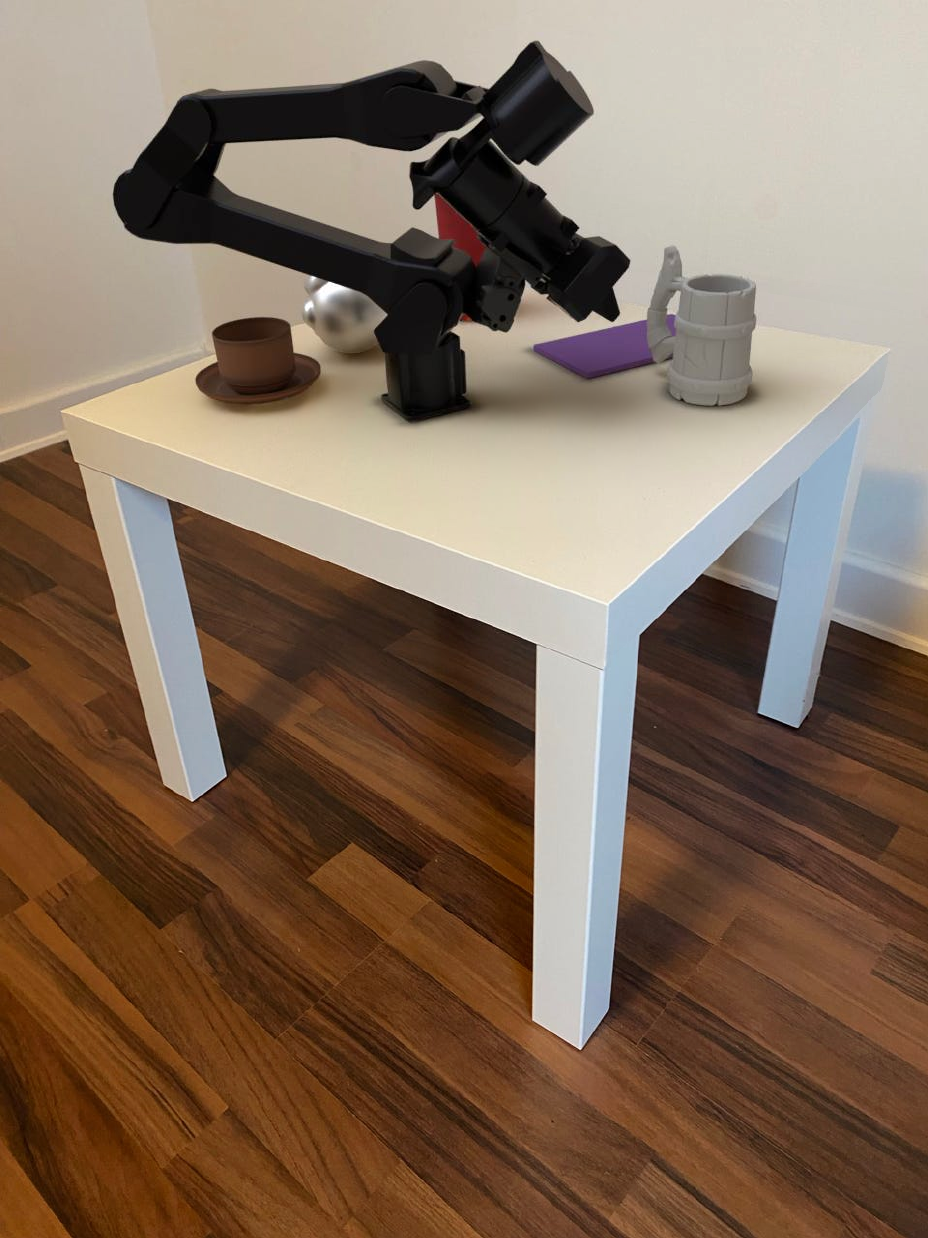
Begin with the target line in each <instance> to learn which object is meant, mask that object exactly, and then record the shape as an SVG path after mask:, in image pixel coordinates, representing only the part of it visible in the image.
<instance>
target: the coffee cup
mask: <svg viewBox="0 0 928 1238" xmlns="http://www.w3.org/2000/svg"><path fill="white" fill-rule="evenodd" d="M433 197H434V206H435V207H434V208H435V214H436V215H435V216H436V224H437V233H438V235H437V236H438V238H439V239H444V240H447V239H455V240H456V243H455V244H454V245H453V246H452V247H454V248H458V249H460V250H462V251H464V252H466V253H467V254H468V255H469V256H470V257H472V259H473V262H474V264H475V266H476V267H477V265H478V263H479V261H480V260H481V258H482V255H483V253H484V251H485V249H486V247H485V246H484V245H483V244H482V243H481V242H480V241H479V240H478V239H477V238H476V237H477V236H478V234H477V233H476V232H475V231H476V230H475V229H474V228H473V227H472V226H471V225H470V224H469V223H468V222H467V221H466V220H465V219H464V218H462V217H461V216H460V215H459V214H458V213H457V212H456V211H455V210H454V209H453V208H452V207H451V206H450V205H449V204H448V203H447V202H446V201H445V200H444V199H442V198H441V197H440V196H439V195H438V194H437V193H436V194H435V195H434V196H433ZM459 321H463V322H473V321H472V320H471V319H470V318H469V317H468V316H467V315H466V314H465V313H464V314H463V316H462V317H461V318H460V320H459Z"/></svg>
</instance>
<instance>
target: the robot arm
mask: <svg viewBox="0 0 928 1238" xmlns="http://www.w3.org/2000/svg"><path fill="white" fill-rule="evenodd" d="M594 113H595V110H594V107H593V103H592V102H591V99H590V98H589V96H588V94H587V92H586V91H585V89H584V88H583V86H582V84H581V83H580V81H579V80H578V79H577V77H576V76H575V75H574V73H573V72H572V71H571V70H568V71H567V69H566V68H565V66H563V64H561V62H559V60H558V59H557V58H556V57H554V55H552V54H551V53H549V52H548V51H547V50H546V49H545V48H544V46H543V45H542V43H541V42H540V41H539V40H533V41H531V42H529V43H528V44H527V45H526V46H525V47H524V48H523V49H522V50H521V51H520V53H518V55H517V57H516V58H515V60H514V62H513V63H512V64H511V66H510V67H509V68H508V69H506V71H505V72H504V73H503V74H502V75H501V76H500V77H499V78H498V79H497V80H496V81H495V82H494V83H493V84H492V85H491V86H490V87H489V88H487V87H485V86H481V85H476V84H471V83H467V82H463V81H460V80H459V81H458V80H455V79H454V77H453V76H452V75H451V74H450V73H449V71H448V70H447V69H446V68H445V67H443V65H442V64H440V63H439V62H436V61H433V60H427V59H423V60H418V61H414V62H410V63H407V64H403V65H400V66H397V67H393V68H390V69H386V70H383V71H380V72H376V73H373V74H370V75H366V76H363V77H359V78H355V79H352V80H349V81H346V82H338V83H337V82H336V83H321V84H306V85H293V86H277V87H265V88H264V87H263V88H262V87H261V88H247V89H235V90H221V89H220V90H219V89H216V88H206V89H202V90H199V91H196V92H191V93H188V94H184V95H182V96H181V97H180V98H179V99H178V100H177V101H176V103H175V105H174V106H173V109H172V110H171V112H170V114H169V116H168V118H167V119H166V121H165V123H164V124H163V125H162V126H161V128H160V129H159V131H157V133H156V134H155V135H154V137H153V138H152V139H151V140H150V142H149V143H148V144H147V146H146V147H145V148H144V149H143V151H141V153H140V154H139V156H138V157H137V158H136V161H135V162H134V164H133V166H132V168H129V169H126V170H124V172H122V173H121V174H119V175H118V177H117V179H116V181H115V182H114V184H113V192H112V200H113V206H114V209H115V212H116V214H117V216H118V218H119V219H120V221H121V222H122V224H123V227H124V229H125V230H126V231H127V232H128V233H129V234H131V235H133V236H134V237H136V238H138V239H141V240H145V241H153V242H159V243H167V244H173V245H200V244H201V245H203V244H204V245H205V244H206V245H209V244H210V245H218V246H221V247H224V248H227V249H230V250H233V251H236V252H239V253H242V254H245V255H248V256H251V257H253V258H257V259H260V260H263V261H266V262H268V263H272V264H273V265H274V264H275V265H278V266H280V267H284V268H287V269H289V270H292V271H296V272H298V273H301V274H304V275H307V276H309V275H310V276H313V277H316V278H319V279H322V280H325V281H328V282H331V283H334V284H337V285H340V286H343V287H346V288H349V289H352V290H355V291H358V292H361V293H363V294H365V295H366V296H368V297H369V298H370V299H371V300H372V301H373V302H374V303H375V304H376V305H378V306H379V307H380V308H381V309H382V310H383V311H384V312H385V313H386V314H387V316H386V317H385V318H384V319H383V320H382V322H381V323H380V324H379V325H378V326H377V327H376V328H375V329H374V334H375V336H376V338H377V341H378V345H379V347H380V350H381V352H382V353H383V355H384V366H385V367H384V369H385V378H386V379H385V380H386V389H387V392H385V393H382V394H381V395H380V400H381V401H382V402H383V403H384V404H385V405H387V407H389V408H391V409H392V410H393V411H394V412H396V413H397V414H398V415H400V416H401V417H402V418H404V419H405V420H406V421H408V422H414V421H418V420H422V419H423V420H424V419H426V418H430V417H435V416H439V415H444V414H446V413H447V414H448V413H451V412H454V411H459V410H462V409H467V408H470V407H471V406H472V401H471V399H469V398H468V397H466V396H464V395H466V394H467V390H468V389H467V388H468V386H467V366H466V365H467V364H466V362H467V361H466V351H464V349H462V348H461V336H460V335H458V334H457V333H455V332H453V331H452V330H453V329H454V328H455V327H457V326H458V325H459V323H460V321H461V320H460V318H461V317H462V316H463V314H464V313H465V314H466V315H467V316H468V317H469V318H470V319H471V320H472V321H471V322H473V323H476V324H478V325H480V326H481V325H482V326H484V327H488V328H489V329H490V330H491V331H492V332H497V331H499V332H502V333H508V332H509V331H510V330H511V329H512V327H513V325H514V322H515V318H516V314H517V313H518V310H519V307H520V305H521V302H522V297H523V294H524V291H525V289H526V282H527V283H528V284H529V285H530V288H531V289H532V290H534V291H535V292H536V293H538V294H539V295H542V296H543V295H544V296H545V295H547V297H546V300H547V301H549V302H550V303H551V304H553V305H554V306H556V307H557V308H559V309H560V310H561V311H562V312H564V314H566V315H567V316H568V317H570V318H571V319H573V320H574V321H575V322H577V323H580V322H583V321H585V320H587V318H588V317H589V316H590V315H591V313H592V312H593V313H595V314H597V315H599V316H600V317H602V318H604V319H605V320H607V321H608V322H610V323H614V322H615V321H616V320H617V319H618V318H619V317H620V315H621V311H620V307H619V304H618V300H617V297H616V293H615V290H614V286H615V285H616V284H617V283H618V281H620V279H621V278H622V277H623V275H624V274H625V273H626V272H627V271H628V269H630V265H631V259H630V258H629V257H628V256H627V255H626V254H625V253H624V252H623V250H622V249H621V248H620V247H619V246H618V245H617V244H615V243H613V242H612V241H609V240H608V239H605V238H604V237H602V236H599V235H596V236H589V237H584V236H582V235H580V234H578V233H577V232H578V231H579V230H580V226H579V225H578V224H577V223H576V222H575V221H574V220H573V219H571V218H570V217H567V216H566V215H564V214H563V213H561V212H560V211H559V210H558V209H557V208H556V207H555V206H554V205H553V204H552V203H551V202H550V200H549V199H547V198H546V197H547V195H548V193H547V192H546V190H544V189H543V187H541V185H538V184H537V183H534V182H532V181H531V180H529V179H528V178H527V177H526V176H525V174H524V173H522V172H521V171H520V170H519V169H518V167H517V166H521V165H522V164H523V163H524V162H525V161H526V162H527V163H529V164H530V165H532V166H535V167H539V166H540V165H541V164H542V163H543V162H544V161H546V159H548V158H549V157H550V156H551V155H552V154H553V153H554V152H555V151H556V150H557V149H558V148H559V147H560V146H561V145H562V144H564V142H566V141H567V140H568V139H569V138H570V137H571V136H572V135H573V134H574V133H575V132H576V131H577V130H579V129H580V127H581V126H582V125H584V124H585V123H586V122H587V121H588V120H589V119H590V118H591V117H592V116H594ZM481 117H482V119H481V120H480V121H479V122H478V123H477V124H476V125H474V126H473V128H472V129H471V130H469V131H468V132H466V133H465V134H464V135H462V136H461V137H459V138H458V137H455V136H452V137H449V138H448V139H447V141H446V142H445V143H444V144H442V145H441V146H440V147H439V148H438V149H437V151H436V152H435V153H434V154H433V155H432V156H430V158H428V159H426V160H423V161H411V162H410V164H409V172H408V173H409V174H408V177H409V180H410V183H411V188H412V204H411V205H412V208H413V209H414V210H415V211H416V210H417V211H418V210H421V209H422V208H423V207H424V206H425V205H426V204H427V203H428V202H430V200H431V199H433V197H434V195H435V194H436V193H437V194H438V195H439V196H440V197H441V198H442V199H444V200H445V201H446V202H447V203H448V204H449V205H450V206H451V207H452V208H453V209H454V210H455V211H456V212H457V213H458V214H459V215H460V216H461V217H462V218H464V219H465V220H466V221H467V222H468V223H469V224H470V225H471V226H472V227H473V228H474V229H475V230H476V231H475V232H476V233H477V234H478V236H477V237H476V238H477V239H478V240H479V241H480V242H481V243H482V244H483V245H484V246H485V247H486V249H485V251H484V253H483V255H482V258H481V260H480V261H479V263H478V265H477V267H476V266H475V264H474V262H473V259H472V257H470V256H469V255H468V254H467V253H466V252H464V251H462V250H460V249H458V248H454V247H452V246H453V245H454V244H455V243H456V240H455V239H447V240H444V239H439V237H436V236H433V235H431V234H429V233H428V232H426V231H424V230H422V229H419V228H416V227H412V226H411V227H410V228H409V229H408V230H406V231H405V232H404V233H403V234H401V235H400V236H399V237H398V238H395V240H394V241H392V242H384V241H383V242H382V241H378V240H375V239H373V238H369V237H366V236H363V235H361V234H357V233H354V232H351V231H348V230H344V229H342V228H340V227H339V228H338V227H336V226H333V225H329V224H327V223H324V222H321V221H318V220H315V219H311V218H308V217H305V216H303V215H299V214H297V213H293V212H290V211H287V210H285V209H282V208H279V207H275V206H272V205H269V204H267V203H263V202H260V201H256V200H254V199H251V198H247V197H245V196H243V195H239V194H237V193H235V192H233V191H232V190H231V189H230V188H229V187H227V186H226V185H225V184H224V182H222V181H221V180H220V179H219V178H218V177H216V175H215V174H216V173H217V171H218V169H219V165H220V164H221V160H222V157H223V153H224V151H225V147H226V145H227V144H240V143H242V144H243V143H259V142H277V141H278V142H279V141H296V140H297V141H298V140H299V141H300V140H315V139H316V140H319V139H335V138H336V139H341V140H349V141H352V142H355V143H359V144H362V145H365V146H368V147H373V148H380V149H387V150H393V151H399V152H415V151H419V150H421V149H423V148H424V147H426V146H428V145H429V144H431V143H433V142H435V141H436V140H438V139H440V138H442V137H443V136H445V135H446V134H448V133H450V132H457V131H460V130H461V129H462V128H465V127H466V126H468V125H469V124H471V123H473V122H474V121H477V120H478V119H479V118H481ZM491 140H492V141H491ZM514 164H515V165H517V166H515V165H514Z"/></svg>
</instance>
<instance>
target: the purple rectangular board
mask: <svg viewBox="0 0 928 1238" xmlns="http://www.w3.org/2000/svg"><path fill="white" fill-rule="evenodd" d="M674 321H675V314H674V313H669V314H667V319H666V322H667V326H668V327H669V330H670V332H671V334H672V336H673V337H675V336H676V329H675V328H674ZM533 351H534V352H536V353H538V354H540V355H541V356H544V357H545V358H548V359H549V360H551V361H553V362H555V363H556V364H558V365H560V366H562V367H564V368H565V369H568V370H570V371H572V372H574V373H576V374H578V375H579V376H582V377H583V378H585V379H587V380H588V379H593V378H596V377H601V376H604V375H608V374H613V373H617V372H621V371H626V370H629V369H633V368H636V367H642V366H645V365H649V364H654V363H655V362H654V361H653V356H652V351H651V348H649V347H648V342H647V319H642V320H638V321H633V322H629V323H625V324H624V323H623V324H621V325H616V326H611V327H606V328H603V329H602V328H601V329H598V330H594V331H589V332H585V333H579V334H575V335H571V336H567V337H563V338H559V339H554V340H548V341H545V342H541V343H535V344H533ZM669 359H673V353H672V354H670V355H669V356H668V357H667V358H666V359H665V360H664V361H666V360H669Z"/></svg>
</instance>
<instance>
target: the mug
mask: <svg viewBox="0 0 928 1238" xmlns="http://www.w3.org/2000/svg"><path fill="white" fill-rule="evenodd" d="M662 260H663V261H662V264H661V269H660V270H659V274H658V277H657V281H656V284H655V286H654V289H653V294H652V296H651V299H650V305H649V307H648V308H647V311H646V320H647V342H648V347H649V348H651V351H652V356H653V361H654V363H656V364H660V363H662V362H664V361H666V360H667V359H666V358H667V357H668V356H669V355H670V354H672V353H673V358H672V361H671V363H670V364H669V365H668V367H667V370H666V379H667V382H668V383H669V390H668V391H669V394H670V395H671V396H672V397H673V398H674V399H676V400H677V401H681V400H684V402H685V403H687V404H690V405H699V406H710V407H711V406H712V407H713V406H715V405H717V406H726V405H731V404H732V405H733V404H735V403H738V402H740V401H741V400H744V398H745V397H746V396H747V393H748V388H749V386H750V385H751V384H752V381H753V375H754V374H753V373H754V372H753V368H752V366H751V364H750V363H751V352H752V342H753V341H752V340H753V332H754V331H755V329H756V324H757V316H756V314H755V305H756V304H755V303H756V294H757V293H756V292H757V284H756V282H755V281H753V280H752V279H750V278H749V277H743V276H740V275H735V274H727V273H712V274H707V273H706V274H699V275H694V276H690V277H685V276H683V263H682V259H681V254H680V251H679V250H678V248H677V247H676V245H674V244H672V245H668V246H665V247H664V249H663V259H662ZM677 292H680V294H679V302H678V303H679V304H678V311H677V312H676V313H675V314H674V315H675V321H674V328H675V329H676V336H675V337H673V336H672V334H671V332H670V330H669V327H668V326H667V322H666V319H667V315H668V308H667V307H668V305H669V303H670V301H671V299H673V298H674V296H675V295H676V293H677ZM665 359H666V360H665Z"/></svg>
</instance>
